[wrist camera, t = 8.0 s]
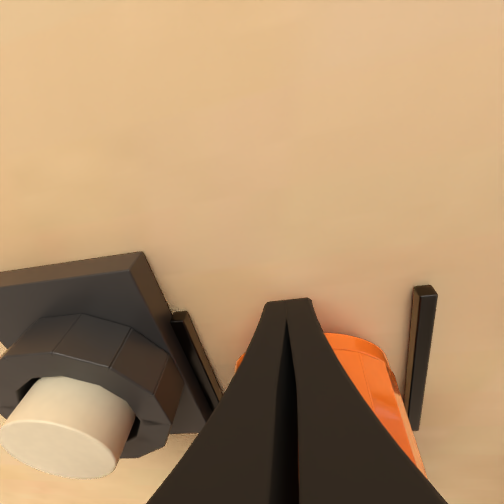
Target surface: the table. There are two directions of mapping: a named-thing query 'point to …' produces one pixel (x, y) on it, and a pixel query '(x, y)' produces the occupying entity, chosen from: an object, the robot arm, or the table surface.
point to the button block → (100, 343)
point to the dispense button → (68, 428)
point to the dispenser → (416, 363)
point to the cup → (374, 388)
